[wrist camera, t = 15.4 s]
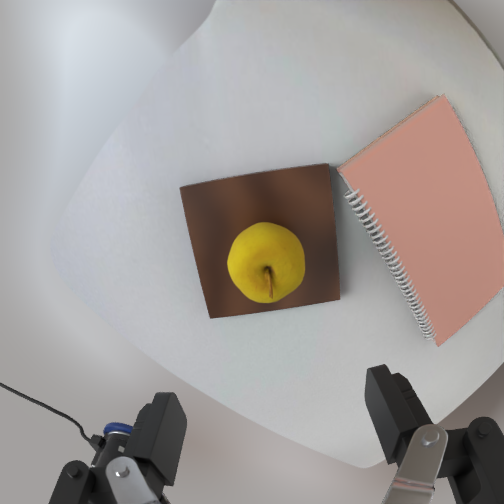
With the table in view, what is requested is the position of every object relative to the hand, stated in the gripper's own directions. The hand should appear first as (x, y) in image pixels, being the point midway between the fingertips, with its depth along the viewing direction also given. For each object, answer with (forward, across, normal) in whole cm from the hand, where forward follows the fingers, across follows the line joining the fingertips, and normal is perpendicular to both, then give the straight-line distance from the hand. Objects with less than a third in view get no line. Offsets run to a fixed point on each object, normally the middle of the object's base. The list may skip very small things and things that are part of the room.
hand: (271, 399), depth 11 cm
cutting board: (+20, 0, -1) cm, 20 cm away
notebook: (+20, -21, +1) cm, 29 cm away
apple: (+18, 0, -1) cm, 18 cm away
